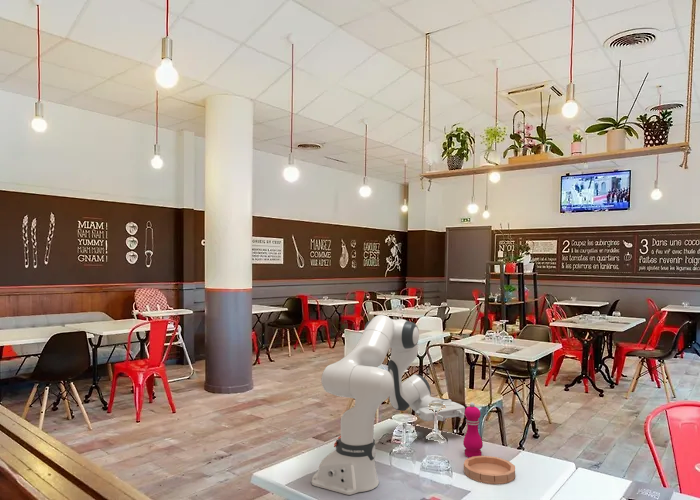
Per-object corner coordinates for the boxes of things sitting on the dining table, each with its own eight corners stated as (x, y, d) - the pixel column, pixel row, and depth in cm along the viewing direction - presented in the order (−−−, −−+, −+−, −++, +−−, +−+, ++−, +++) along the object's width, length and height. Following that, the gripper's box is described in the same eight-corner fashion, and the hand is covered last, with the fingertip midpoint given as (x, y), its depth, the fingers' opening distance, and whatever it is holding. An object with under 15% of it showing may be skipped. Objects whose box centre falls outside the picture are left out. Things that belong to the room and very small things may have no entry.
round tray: (461, 480, 165) (461, 471, 165) (467, 461, 181) (467, 453, 181) (514, 487, 159) (514, 478, 159) (515, 467, 175) (515, 459, 175)
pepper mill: (485, 459, 183) (484, 405, 184) (465, 459, 183) (464, 405, 184) (480, 451, 190) (479, 399, 191) (461, 451, 190) (460, 399, 191)
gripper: (412, 404, 206) (431, 412, 193) (452, 398, 215) (472, 406, 202) (413, 419, 206) (432, 429, 193) (452, 412, 214) (473, 421, 202)
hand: (453, 417), depth 198 cm, fingers open, 8 cm apart
